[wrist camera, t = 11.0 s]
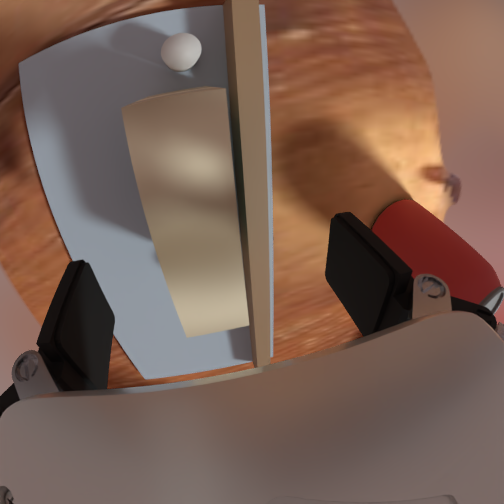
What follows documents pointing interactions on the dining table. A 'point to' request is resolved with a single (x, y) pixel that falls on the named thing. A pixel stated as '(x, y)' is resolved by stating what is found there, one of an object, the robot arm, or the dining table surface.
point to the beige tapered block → (191, 203)
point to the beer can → (438, 253)
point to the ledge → (123, 178)
